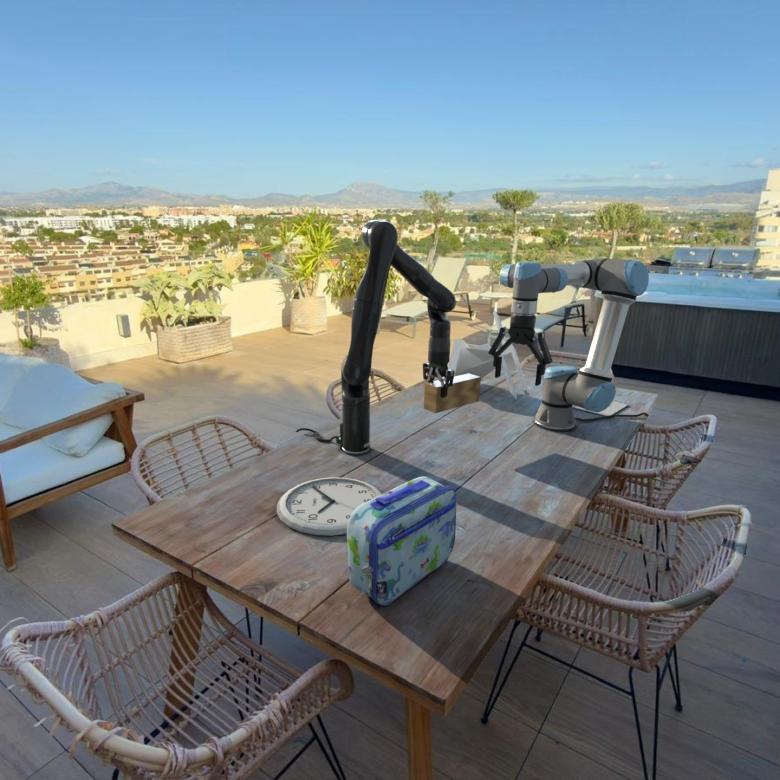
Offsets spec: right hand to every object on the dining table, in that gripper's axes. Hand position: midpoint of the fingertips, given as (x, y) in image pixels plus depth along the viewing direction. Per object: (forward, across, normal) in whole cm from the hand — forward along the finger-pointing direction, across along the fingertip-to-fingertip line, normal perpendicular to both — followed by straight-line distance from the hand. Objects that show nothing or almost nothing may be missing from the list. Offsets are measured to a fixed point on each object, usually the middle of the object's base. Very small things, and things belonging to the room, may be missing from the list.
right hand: (517, 380), depth 166 cm
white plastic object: (+27, -42, +59) cm, 78 cm away
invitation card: (+27, +8, +75) cm, 80 cm away
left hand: (+11, -29, 0) cm, 31 cm away
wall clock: (+27, -25, -59) cm, 70 cm away
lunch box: (+27, +8, -72) cm, 78 cm away
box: (+16, -27, +8) cm, 32 cm away
